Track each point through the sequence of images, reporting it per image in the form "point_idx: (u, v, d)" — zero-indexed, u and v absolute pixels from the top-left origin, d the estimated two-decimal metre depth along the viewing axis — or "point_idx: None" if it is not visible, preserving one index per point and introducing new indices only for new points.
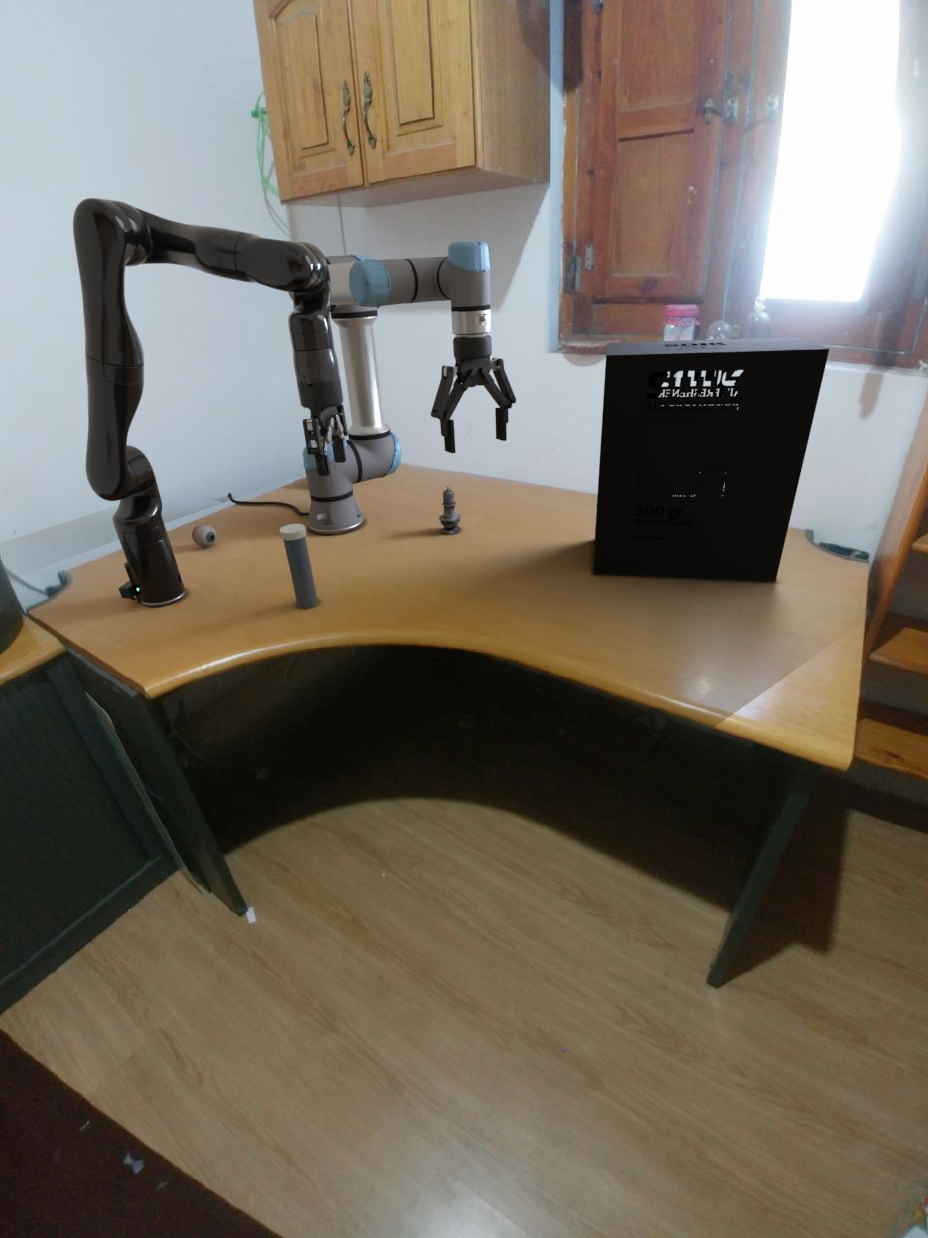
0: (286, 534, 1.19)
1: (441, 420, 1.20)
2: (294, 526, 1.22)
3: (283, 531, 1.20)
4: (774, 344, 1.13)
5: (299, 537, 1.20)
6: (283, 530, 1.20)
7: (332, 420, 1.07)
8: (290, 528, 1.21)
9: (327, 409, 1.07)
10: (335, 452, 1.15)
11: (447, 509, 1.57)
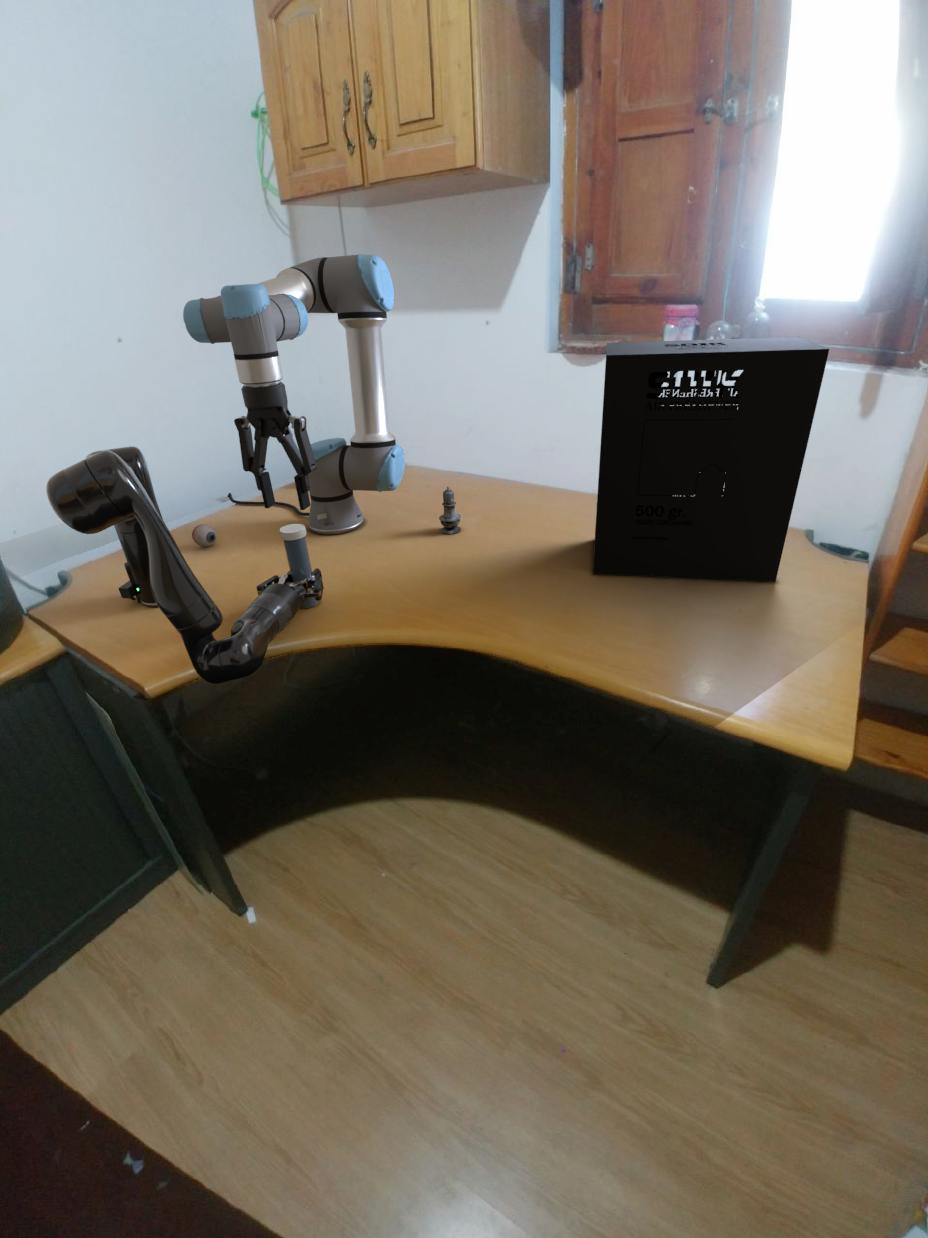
0: (286, 534, 1.19)
1: (307, 474, 1.14)
2: (294, 526, 1.22)
3: (283, 531, 1.20)
4: (774, 344, 1.13)
5: (299, 537, 1.20)
6: (283, 530, 1.20)
7: None
8: (290, 528, 1.21)
9: None
10: None
11: (447, 509, 1.57)
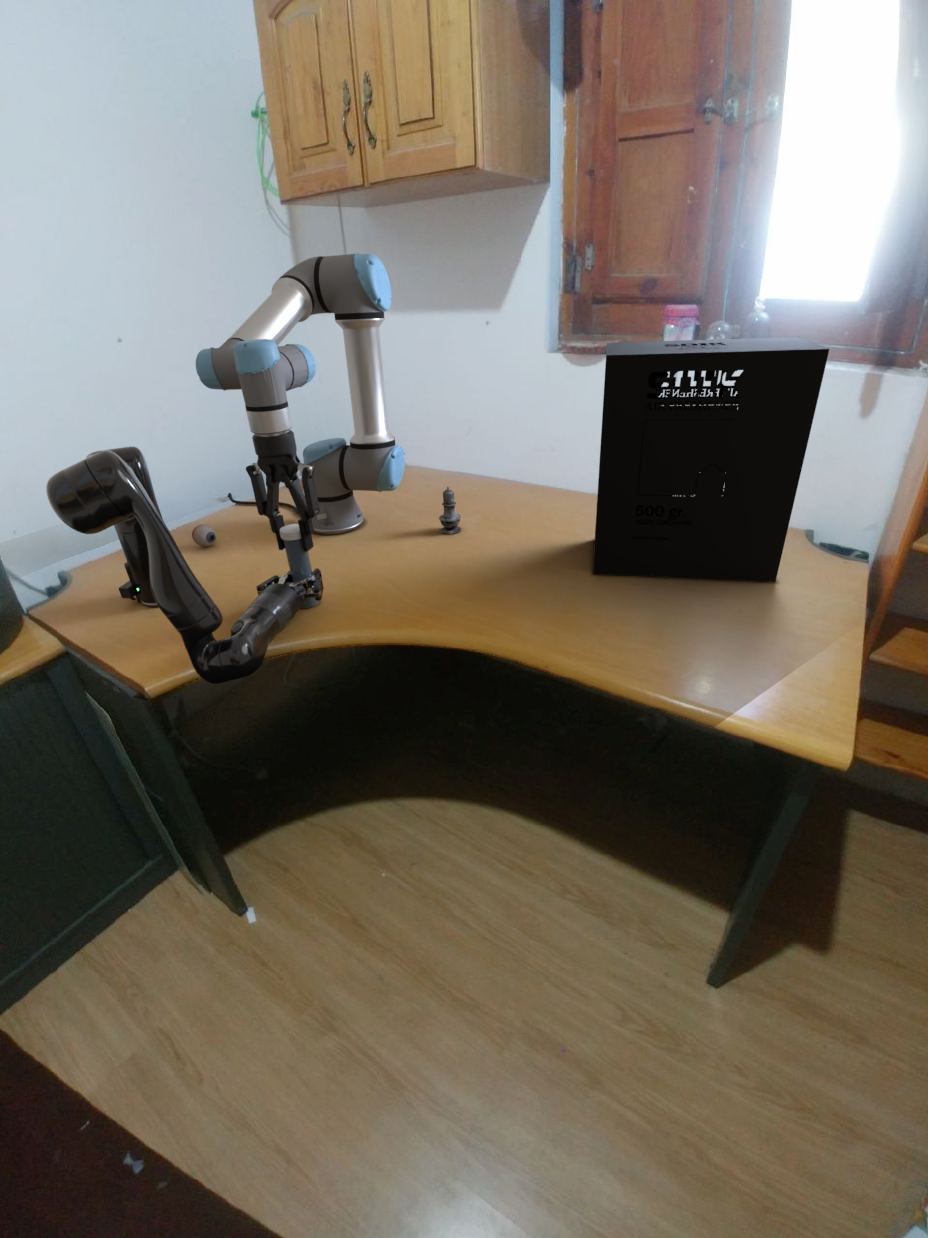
0: (286, 534, 1.19)
1: (310, 518, 1.19)
2: (294, 526, 1.22)
3: (283, 531, 1.20)
4: (774, 344, 1.13)
5: (299, 537, 1.20)
6: (283, 530, 1.20)
7: None
8: (290, 528, 1.21)
9: None
10: None
11: (447, 509, 1.57)
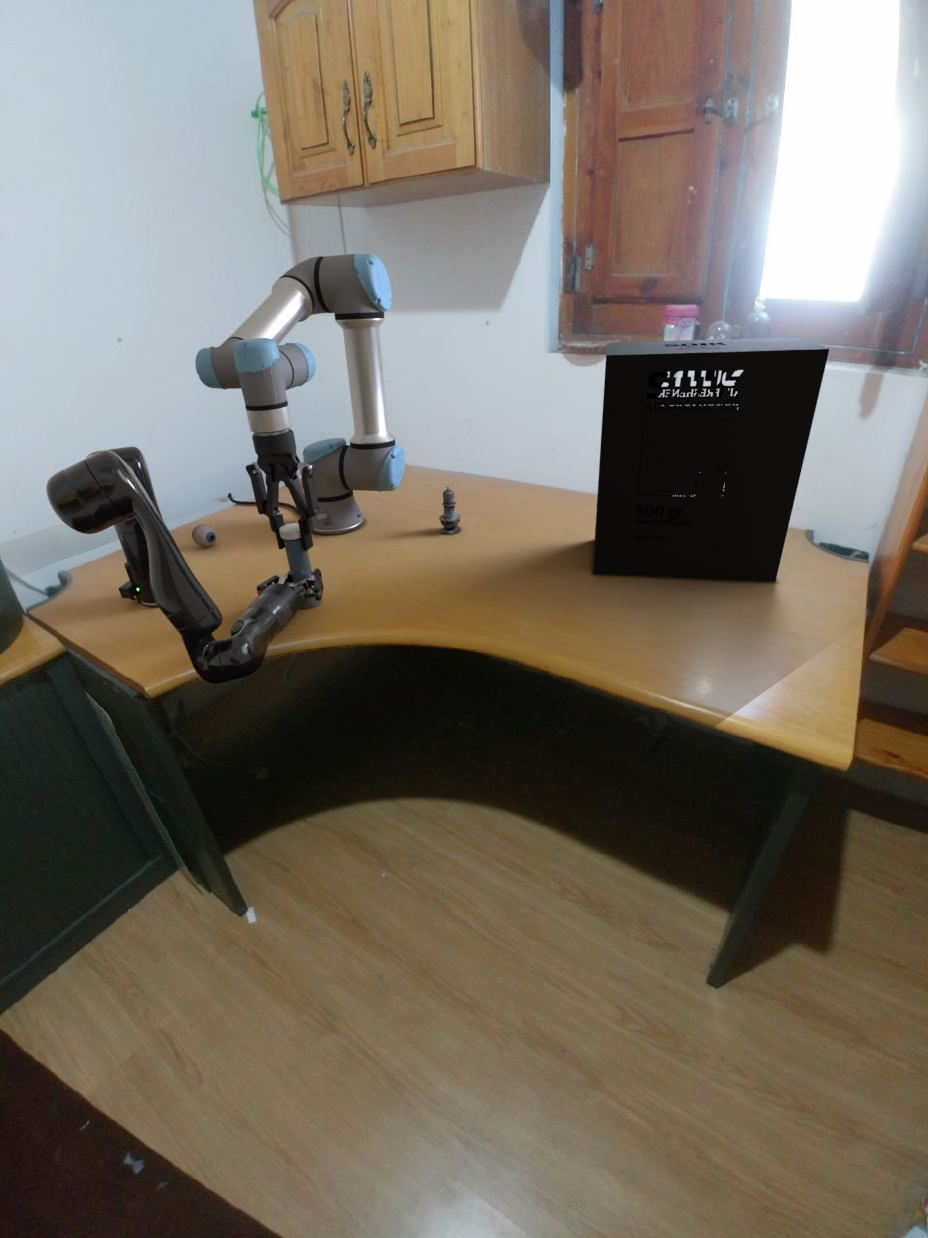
0: None
1: (310, 517, 1.19)
2: (287, 527, 1.21)
3: None
4: (774, 344, 1.13)
5: None
6: (296, 529, 1.20)
7: None
8: (292, 528, 1.20)
9: None
10: None
11: (447, 509, 1.57)
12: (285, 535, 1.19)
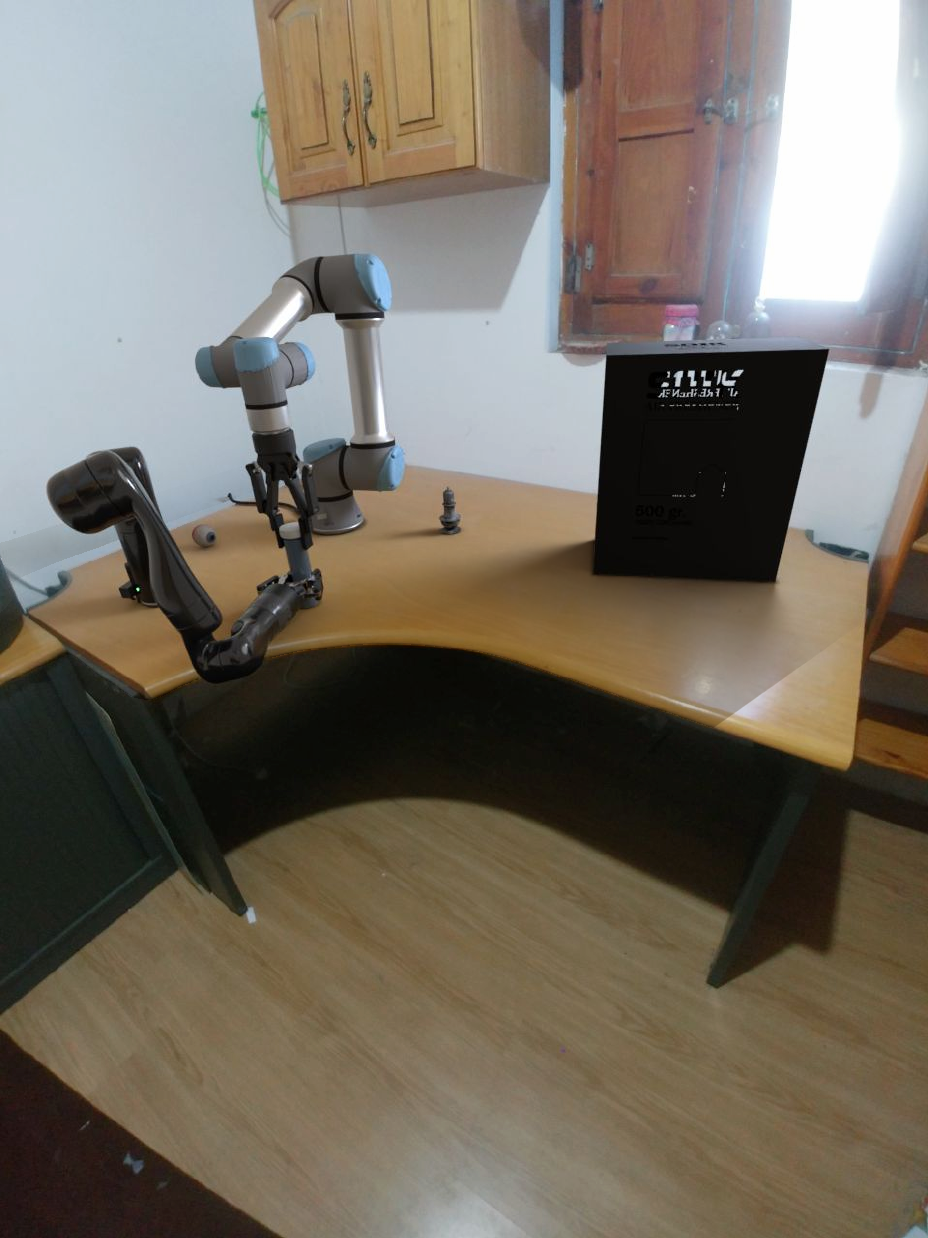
0: None
1: (310, 516, 1.18)
2: (291, 528, 1.20)
3: (297, 522, 1.22)
4: (774, 344, 1.13)
5: None
6: None
7: None
8: (293, 526, 1.21)
9: None
10: None
11: (447, 509, 1.57)
12: None
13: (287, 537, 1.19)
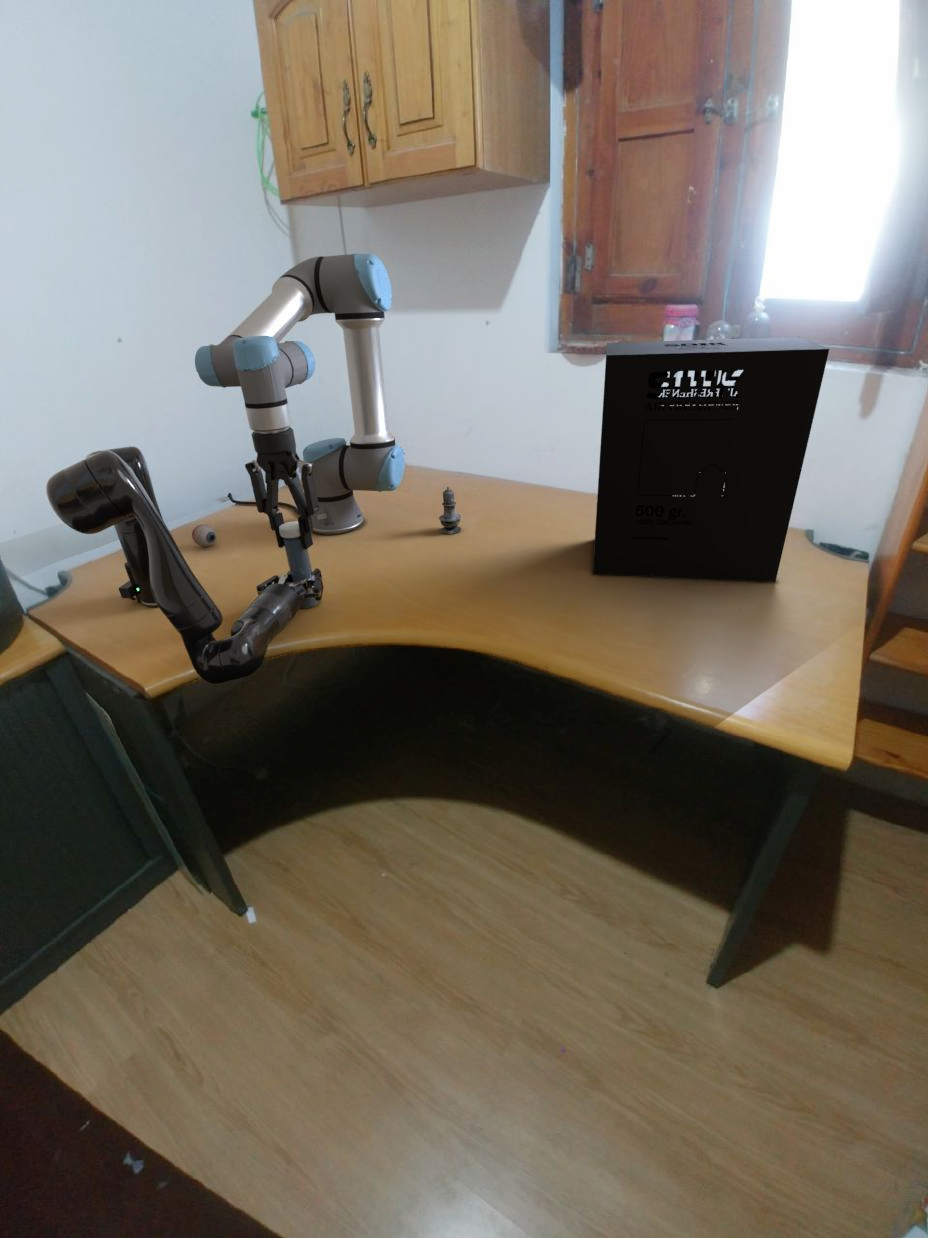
0: (279, 529, 1.20)
1: (310, 515, 1.18)
2: (296, 524, 1.21)
3: (281, 525, 1.21)
4: (774, 344, 1.13)
5: (287, 536, 1.19)
6: (284, 524, 1.21)
7: None
8: (290, 525, 1.21)
9: None
10: None
11: (447, 509, 1.57)
12: None
13: None
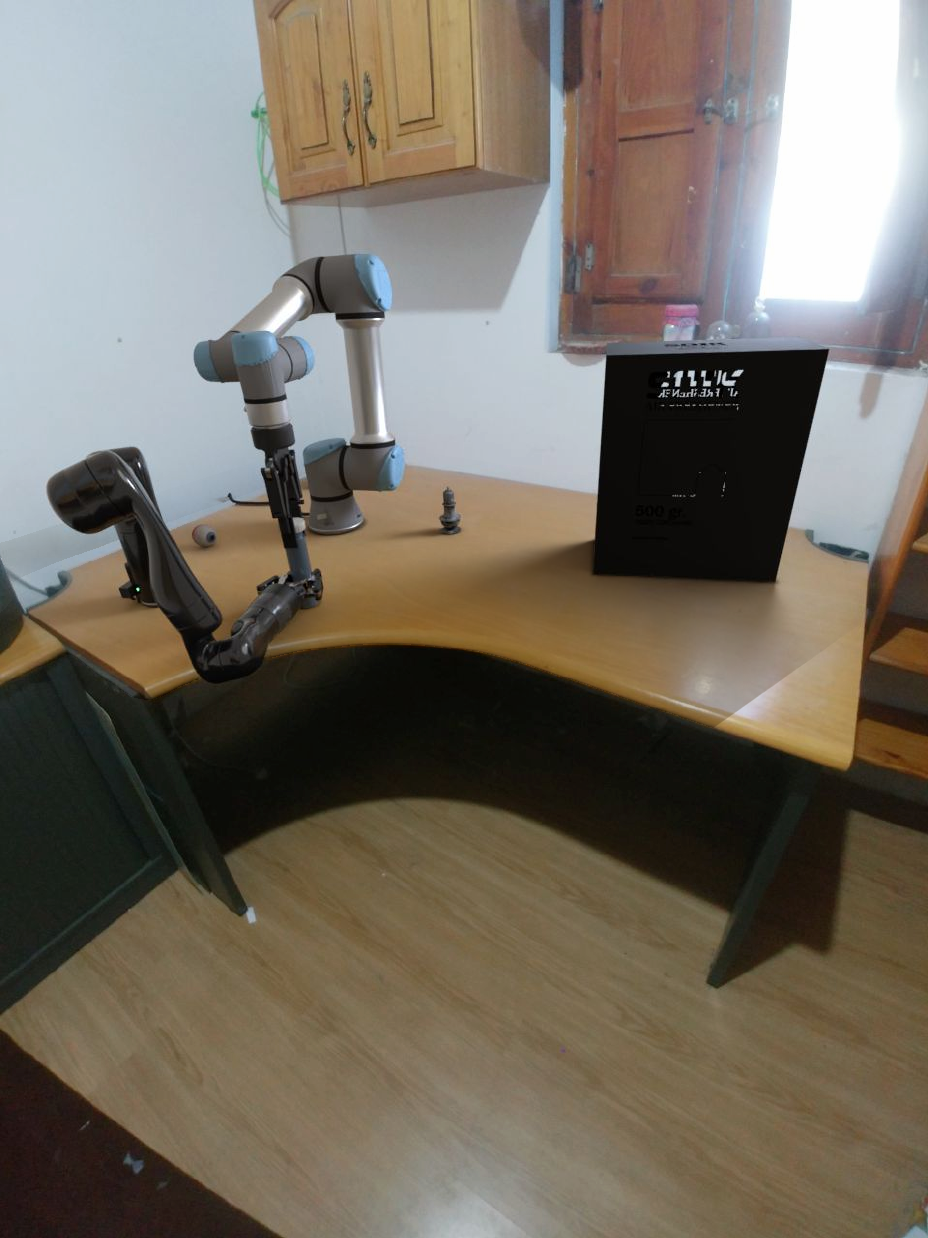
0: (296, 526, 1.19)
1: None
2: None
3: None
4: (774, 344, 1.13)
5: (304, 527, 1.21)
6: None
7: None
8: None
9: None
10: None
11: (447, 509, 1.57)
12: (279, 527, 1.20)
13: None
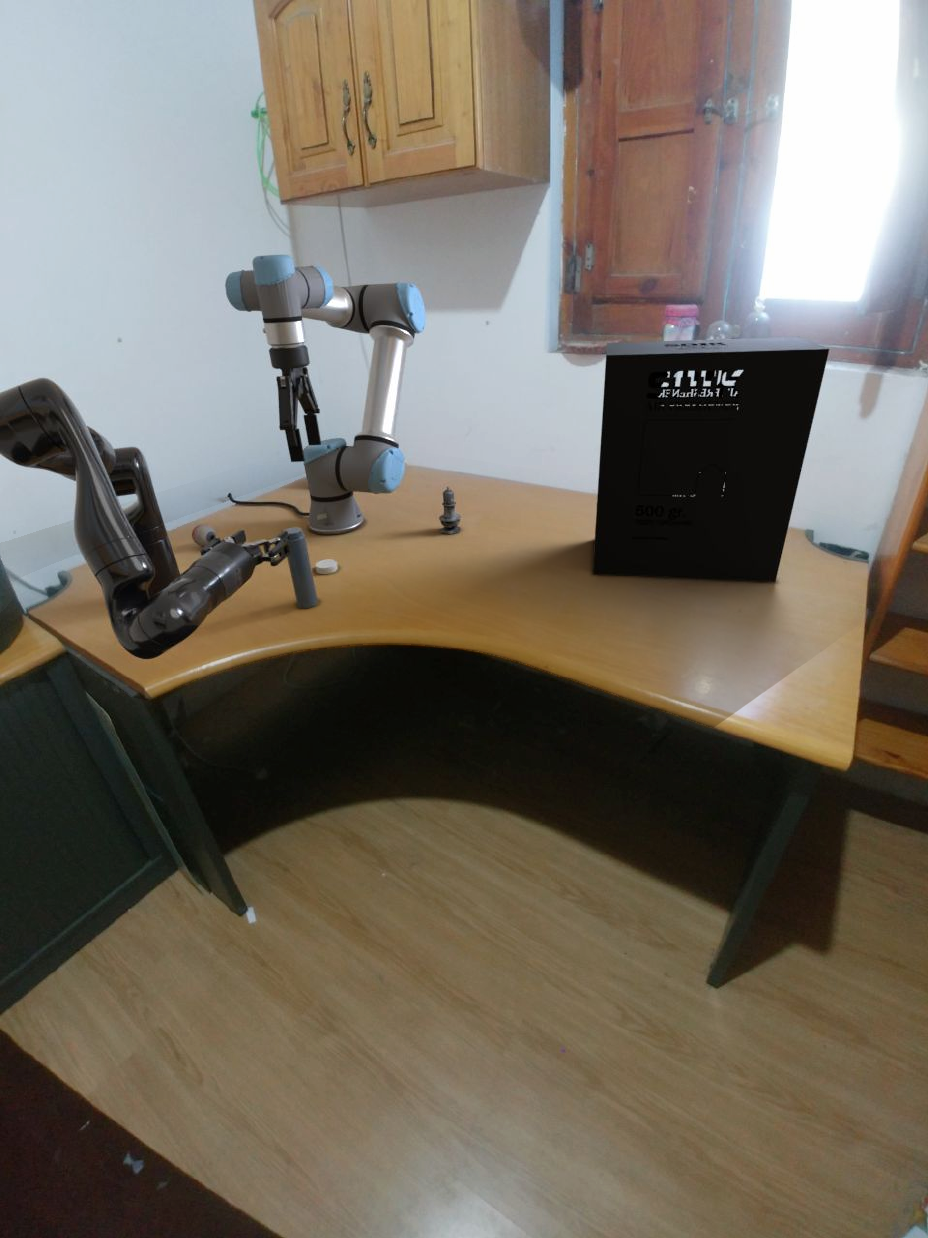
0: (330, 568, 1.41)
1: None
2: (324, 562, 1.44)
3: (325, 567, 1.41)
4: (774, 344, 1.13)
5: (337, 568, 1.44)
6: (323, 566, 1.42)
7: None
8: (325, 564, 1.43)
9: None
10: None
11: (447, 509, 1.57)
12: (316, 568, 1.43)
13: None
